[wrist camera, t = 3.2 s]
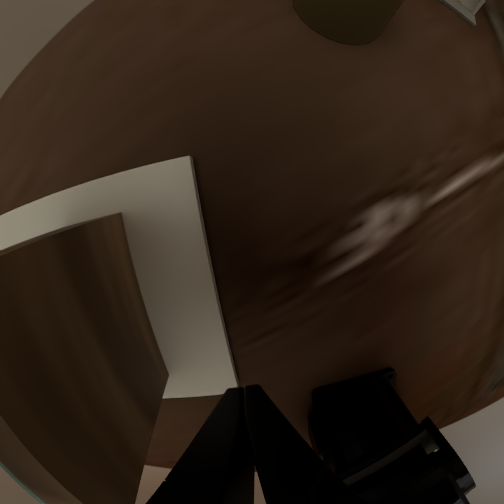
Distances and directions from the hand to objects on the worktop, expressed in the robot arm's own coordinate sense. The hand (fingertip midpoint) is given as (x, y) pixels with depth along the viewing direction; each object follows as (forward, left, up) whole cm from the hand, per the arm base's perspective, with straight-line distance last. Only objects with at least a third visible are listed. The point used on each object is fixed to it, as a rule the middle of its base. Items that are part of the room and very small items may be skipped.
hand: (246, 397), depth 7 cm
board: (+12, 0, -9) cm, 15 cm away
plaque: (+7, 0, -8) cm, 11 cm away
